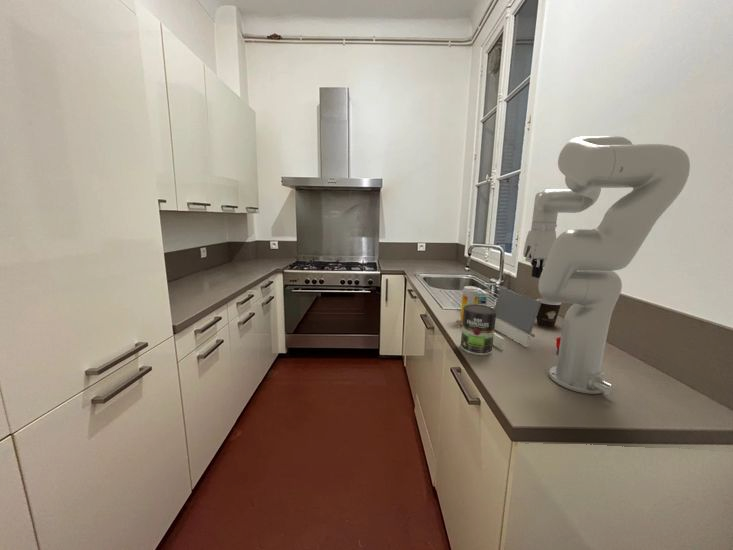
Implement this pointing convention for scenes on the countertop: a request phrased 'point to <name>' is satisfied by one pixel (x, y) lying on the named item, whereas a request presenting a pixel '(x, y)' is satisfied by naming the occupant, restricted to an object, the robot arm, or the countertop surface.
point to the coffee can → (478, 329)
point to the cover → (517, 310)
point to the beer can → (469, 297)
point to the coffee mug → (547, 313)
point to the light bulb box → (482, 297)
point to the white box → (509, 335)
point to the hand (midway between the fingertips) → (536, 277)
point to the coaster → (459, 321)
